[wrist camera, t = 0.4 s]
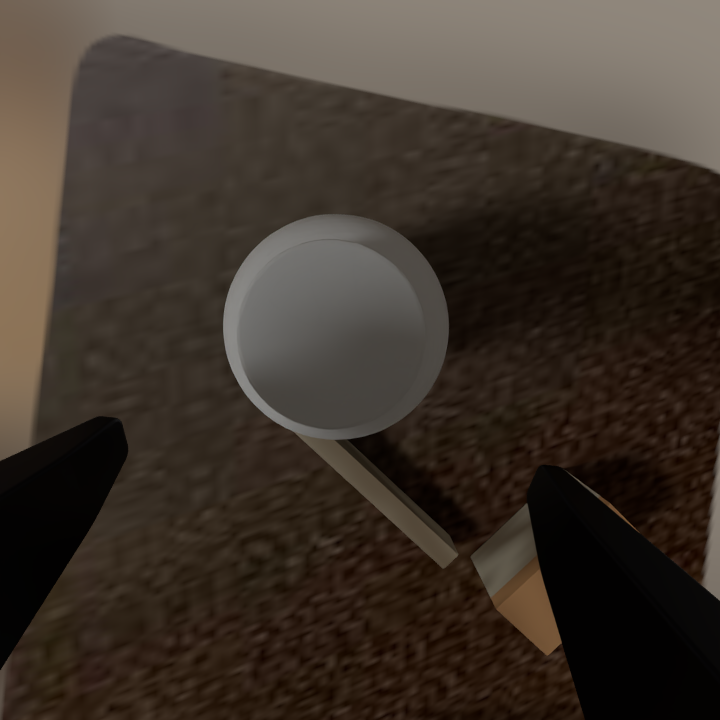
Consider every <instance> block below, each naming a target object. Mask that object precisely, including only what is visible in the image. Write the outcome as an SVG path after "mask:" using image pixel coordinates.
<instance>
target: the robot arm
mask: <svg viewBox="0 0 720 720" xmlns="http://www.w3.org/2000/svg"><path fill="white" fill-rule="evenodd" d="M127 454H128V444H127V440H126V436H125V433H124V429H123V425H122V422H121V421H120V420H119V419H118V418H113V417H104V416H99V417H95V418H93V419H91V420H89V421H86V422H84V423H82V424H80V425H78V426H76V427H73V428H71V429H69V430H67V431H65V432H62V433H60V434H58V435H56V436H54V437H52V438H49V439H47V440H45V441H43V442H41V443H38V444H36V445H34V446H32V447H30V448H28V449H26V450H24V451H21V452H19V453H17V454H15V455H12V456H10V457H8V458H6V459H4V460H1V461H0V670H1V668H2V667H3V665H4V664H5V662H6V660H7V659H8V657H9V656H10V654H11V653H12V651H13V649H14V648H15V646H16V645H17V643H18V642H19V640H20V638H21V637H22V635H23V634H24V632H25V630H26V629H27V627H28V626H29V624H30V623H31V621H32V619H33V618H34V616H35V615H36V613H37V612H38V610H39V608H40V607H41V605H42V604H43V602H44V601H45V599H46V597H47V596H48V594H49V593H50V591H51V590H52V588H53V586H54V585H55V583H56V582H57V580H58V578H59V577H60V575H61V574H62V572H63V571H64V569H65V567H66V566H67V564H68V563H69V561H70V560H71V558H72V556H73V555H74V553H75V552H76V550H77V549H78V547H79V545H80V544H81V542H82V541H83V539H84V538H85V536H86V534H87V533H88V531H89V529H90V528H91V526H92V524H93V523H94V521H95V519H96V517H97V515H98V514H99V512H100V510H101V508H102V506H103V504H104V502H105V500H106V498H107V496H108V494H109V492H110V490H111V488H112V486H113V484H114V482H115V480H116V478H117V476H118V474H119V472H120V470H121V468H122V466H123V464H124V462H125V460H126V458H127ZM527 504H528V510H529V515H530V520H531V525H532V531H533V536H534V541H535V546H536V552H537V557H538V562H539V566H540V571H541V575H542V578H543V582H544V585H545V589H546V592H547V595H548V599H549V602H550V605H551V609H552V612H553V615H554V619H555V622H556V625H557V628H558V632H559V635H560V638H561V642H562V645H563V648H564V652H565V655H566V658H567V662H568V665H569V668H570V671H571V675H572V678H573V681H574V685H575V688H576V691H577V695H578V698H579V701H580V705H581V708H582V711H583V714H584V718H585V720H720V601H719V600H718V599H717V598H716V597H715V596H714V595H712V594H711V593H710V592H709V591H708V590H706V589H705V588H704V587H703V586H702V585H701V584H699V583H698V582H697V581H696V580H695V579H693V578H692V577H691V576H690V575H689V574H687V573H686V572H685V571H684V570H683V569H682V568H680V567H679V566H678V565H677V564H676V563H674V562H673V561H672V560H671V559H670V558H669V557H667V556H666V555H665V554H664V553H663V552H661V551H660V550H659V549H658V548H657V547H655V546H654V545H653V544H652V543H651V542H650V541H648V540H647V539H646V538H645V537H644V536H642V535H641V534H640V533H639V532H638V531H637V530H635V529H634V528H633V527H632V526H631V525H629V524H628V523H627V522H626V521H625V520H624V519H622V518H621V517H620V516H619V515H618V514H616V513H615V512H614V511H613V510H612V509H610V508H609V507H608V506H607V505H606V504H605V503H603V502H602V501H601V500H600V499H599V498H597V497H596V496H595V495H594V494H593V493H592V492H590V491H589V490H588V489H587V488H586V487H584V486H583V485H582V484H581V483H580V482H578V481H577V480H576V479H575V478H574V477H573V476H571V475H570V474H569V473H568V472H567V471H565V470H564V469H563V468H561V467H559V466H551V465H541V466H539V467H538V469H537V471H536V473H535V475H534V478H533V480H532V482H531V484H530V487H529V489H528V492H527Z"/></svg>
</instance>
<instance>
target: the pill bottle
mask: <svg viewBox="0 0 720 720" xmlns="http://www.w3.org/2000/svg"><path fill="white" fill-rule="evenodd" d="M223 333H224V342H225V349H226V353H227V357H228V360H229V363H230V366H231V369H232V371H233V373H234V375H235V377H236V379H237V381H238V383H239V385H240V386H241V388H242V389H243V391H244V392H245V394H246V395H247V396H248V397H249V399H250V400H251V401H252V402H253V403H254V404H255V405H256V406H257V407H258V408H259V409H260V410H261V411H262V412H263V413H264V414H265V415H266V416H268V417H269V418H271V419H272V420H273V421H275V422H276V423H278V424H280V425H282V426H283V427H285V428H287V429H289V430H292V431H294V432H297V433H299V434H302V435H305V436H309V437H314V438H320V439H330V440H342V439H353V438H359V437H363V436H367V435H370V434H373V433H376V432H379V431H381V430H384V429H386V428H388V427H389V426H391V425H393V424H395V423H396V422H398V421H399V420H401V419H402V418H404V417H405V416H406V415H408V414H409V413H410V412H411V411H412V410H413V409H414V408H415V407H416V406H417V405H418V404H419V403H420V402H421V401H422V400H423V399H424V397H425V396H426V395H427V393H428V392H429V390H430V389H431V387H432V386H433V384H434V382H435V381H436V379H437V377H438V375H439V372H440V370H441V367H442V365H443V362H444V358H445V355H446V350H447V345H448V336H449V318H448V310H447V303H446V300H445V297H444V293H443V290H442V288H441V285H440V283H439V280H438V278H437V276H436V274H435V272H434V271H433V269H432V267H431V266H430V264H429V263H428V261H427V260H426V258H425V257H424V256H423V255H422V254H421V252H420V251H419V250H418V249H417V248H416V247H415V246H414V245H413V244H412V243H411V242H410V241H409V240H407V239H406V238H405V237H404V236H402V235H401V234H399V233H398V232H396V231H395V230H393V229H391V228H390V227H388V226H386V225H384V224H382V223H380V222H377V221H374V220H371V219H368V218H364V217H359V216H353V215H343V214H327V215H316V216H312V217H308V218H305V219H301V220H298V221H295V222H293V223H291V224H288V225H286V226H284V227H282V228H281V229H279V230H277V231H275V232H274V233H272V234H271V235H269V236H268V237H267V238H266V239H264V240H263V241H262V242H261V243H260V244H259V245H258V246H257V247H256V248H255V249H254V250H253V251H252V252H251V253H250V254H249V255H248V257H247V258H246V259H245V261H244V262H243V264H242V265H241V267H240V268H239V270H238V272H237V274H236V275H235V278H234V280H233V282H232V284H231V287H230V290H229V293H228V296H227V300H226V304H225V310H224V321H223Z"/></svg>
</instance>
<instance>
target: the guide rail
mask: <svg viewBox="0 0 720 720" xmlns="http://www.w3.org/2000/svg"><path fill="white" fill-rule="evenodd" d="M295 433H296V434H297V435H298V436H299V437H300V438H301V439H302V440H303V441H304V442H306V443H307V444H308V445H309V446H310V447H311V448H312V449H313V450H314V451H315V452H316V453H318V454H319V455H320V456H321V457H322V458H323V459H324V460H325V461H326V462H327V463H328V464H330V465H331V466H332V467H333V468H334V469H335V470H336V471H337V472H338V473H339V474H340V475H342V476H343V477H344V478H345V479H346V480H347V481H348V482H349V483H350V484H351V485H352V486H354V487H355V488H356V489H357V490H358V491H359V492H360V493H361V494H362V495H363V496H364V497H366V498H367V499H368V500H369V501H370V502H371V503H372V504H373V505H374V506H375V507H376V508H378V509H379V510H380V511H381V512H382V513H383V514H384V515H385V516H386V517H387V518H388V519H390V520H391V521H392V522H393V523H394V524H395V525H396V526H397V527H398V528H399V529H401V530H402V531H403V532H404V533H405V534H406V535H407V536H408V537H409V538H410V539H411V540H413V541H414V542H415V543H416V544H417V545H418V546H419V547H420V548H421V549H422V550H423V551H425V552H426V553H427V554H428V555H429V556H430V557H431V558H432V559H433V560H434V561H435V562H437V563H438V564H439V565H440V566H441V567H442V568H443V569H444V568H445V567H446V566H447V565H448V564H449V563H450V562H451V561H453V560H454V559H455V558H456V557H457V556H458V553H457V550H456V548H455V546H454V544H453V542H452V539H451V537H450V535H449V534H448V533H447V532H446V531H445V530H443V529H442V528H441V527H440V526H439V525H438V524H437V523H436V522H435V521H434V520H433V519H432V518H431V517H430V516H428V515H427V514H426V513H425V512H424V511H423V510H422V509H421V508H420V507H419V506H418V505H417V504H416V503H415V502H413V501H412V500H411V499H410V498H409V497H408V496H407V495H406V494H405V493H404V492H403V491H402V490H401V489H399V488H398V487H397V486H396V485H395V484H394V483H393V482H392V481H391V480H390V479H389V478H388V477H387V476H386V475H384V474H383V473H382V472H381V471H380V470H379V469H378V468H377V467H376V466H375V465H374V464H373V463H372V462H370V461H369V460H368V459H367V458H366V457H365V456H364V455H363V454H362V453H361V452H360V451H359V450H358V449H357V448H355V447H354V446H353V445H352V444H351V443H350V442H349V441H348V440H347V439H342V440H330V439H320V438H314V437H309V436H305V435H302V434H299V433H297V432H295Z"/></svg>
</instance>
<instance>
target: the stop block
mask: <svg viewBox="0 0 720 720" xmlns="http://www.w3.org/2000/svg"><path fill="white" fill-rule="evenodd" d="M565 471H566V470H565ZM569 474H570V473H569ZM570 475H571V474H570ZM571 476H572V475H571ZM573 477H574V476H573ZM574 478H575V477H574ZM575 479H576V480H577V481H578V482H580V483H581V484H582V485H583V486H584V487H586V488H587V489H588V490H589V491H590V492H592V493H593V494H594V495H595V496H596V497H597V498H599V499H600V500H601V501H602V502H603V503H605V504H606V505H607V506H608V507H609V508H610V509H612V510H613V511H614V512H615V513H616V514H618V515H619V516H620V517H621V518H622V519H624V520H625V521H626V522H627V523H628V524H629V525H631V524H630V523H629V522H628V521H627V520H626V519H625V518H624V517H623V516H622V515H621V514H620V513H619V512H618V511H617V510H616V509H615V508H614V507H613V506H612V505H611V504H610V503H609V502H608V501H606V500H605V499H604V498H602V497H601V496H600V495H598V494H597V493H595V492H594V491H593V490H591V489H590V488H589V487H587V486H586V485H585V484H583V483H582V482H581V481H579V480H578V479H577V478H575ZM631 526H632V525H631ZM632 527H633V526H632ZM633 528H634V527H633ZM634 529H635V528H634ZM635 530H636V529H635ZM471 559H472V561H473V563H474V565H475V567H476V569H477V571H478V573H479V575H480V577H481V579H482V581H483V583H484V585H485V587H486V589H487V591H488V593H489V595H490V597H491V599H492V601H493V603H494V605H495V608H496V609H497V610H498V611H499V612H500V613H501V614H502V615H503V616H504V617H505V618H507V619H508V620H509V621H510V622H511V623H512V624H513V625H514V626H515V627H516V628H517V629H519V630H520V631H521V632H522V633H523V634H524V635H525V636H526V637H527V638H528V639H529V640H530V641H532V642H533V643H534V644H535V645H536V646H537V647H538V648H539V649H540V650H541V651H542V652H544V653H545V654H546V655H547V656H548V655H549V654H550V653H551V652H552V651H553V650H554V649H555V648H557V647H558V646H559V645H560V644H561V643H562V642H561V638H560V635H559V632H558V628H557V625H556V622H555V619H554V615H553V612H552V609H551V605H550V602H549V599H548V595H547V592H546V589H545V585H544V582H543V578H542V575H541V571H540V566H539V562H538V557H537V552H536V546H535V541H534V536H533V531H532V525H531V520H530V515H529V510H528V504H526V505H525V506H524V507H523V508H522V509H520V510H519V511H518V512H517V513H516V514H515V515H514V516H513V517H512V518H511V519H510V520H509V521H508V522H507V523H506V524H505V525H504V526H502V527H501V528H500V529H499V530H498V531H497V532H496V533H495V534H494V535H493V536H492V537H491V538H490V539H489V540H488V541H487V542H485V543H484V544H483V545H482V546H481V547H480V548H479V549H478V550H477V551H476V552H475V553H474V554H473V555H472V556H471Z"/></svg>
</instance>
